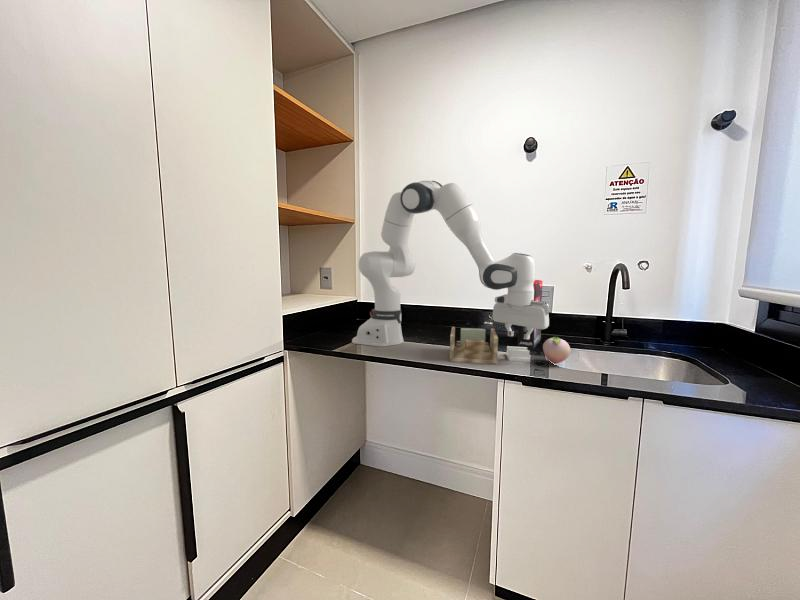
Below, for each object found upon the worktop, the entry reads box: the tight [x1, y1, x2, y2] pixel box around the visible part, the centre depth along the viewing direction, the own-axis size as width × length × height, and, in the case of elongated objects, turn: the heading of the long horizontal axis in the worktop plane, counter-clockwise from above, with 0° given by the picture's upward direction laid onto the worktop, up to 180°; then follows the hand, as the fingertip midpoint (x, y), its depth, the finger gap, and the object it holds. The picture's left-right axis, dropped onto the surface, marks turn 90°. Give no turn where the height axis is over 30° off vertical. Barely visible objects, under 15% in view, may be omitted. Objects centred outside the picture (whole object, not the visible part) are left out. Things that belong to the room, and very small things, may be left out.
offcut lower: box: [464, 348, 482, 359], centre depth 116 cm, size 6×4×3 cm, turn 79°
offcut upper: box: [465, 339, 484, 351], centre depth 116 cm, size 6×4×3 cm, turn 85°
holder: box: [505, 345, 531, 363], centre depth 119 cm, size 7×8×4 cm
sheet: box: [460, 327, 486, 345], centre depth 126 cm, size 9×2×8 cm, turn 82°
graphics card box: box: [517, 279, 543, 349], centre depth 139 cm, size 17×7×27 cm, turn 149°
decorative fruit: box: [542, 335, 571, 365], centre depth 113 cm, size 9×8×10 cm
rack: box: [449, 326, 499, 365], centre depth 121 cm, size 16×16×9 cm
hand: (518, 337), depth 119 cm, fingers open, 5 cm apart
